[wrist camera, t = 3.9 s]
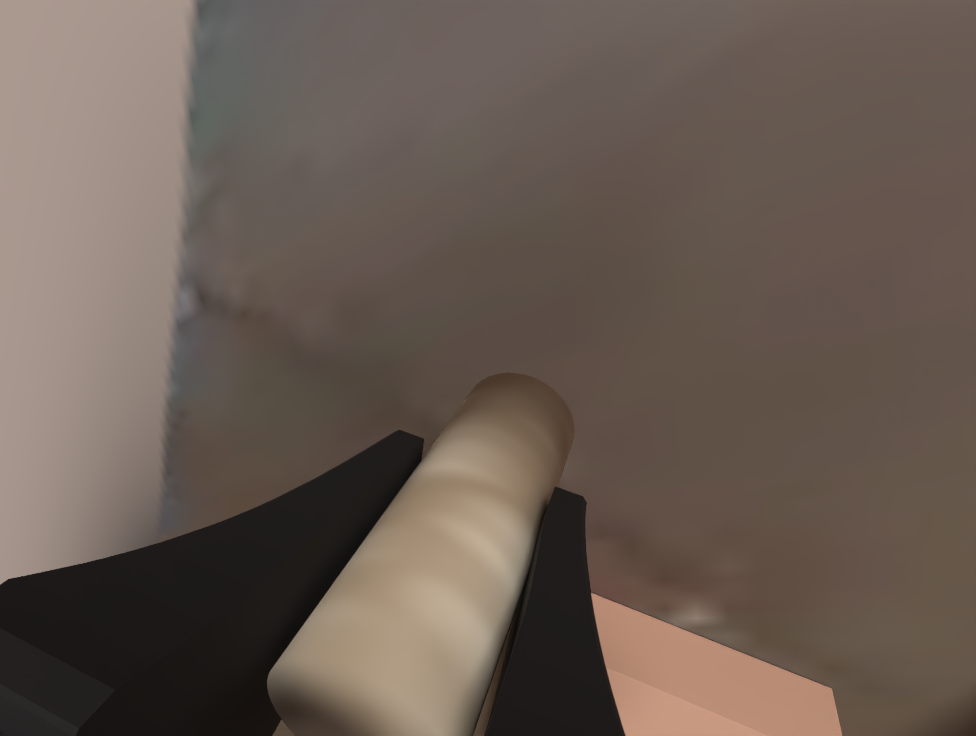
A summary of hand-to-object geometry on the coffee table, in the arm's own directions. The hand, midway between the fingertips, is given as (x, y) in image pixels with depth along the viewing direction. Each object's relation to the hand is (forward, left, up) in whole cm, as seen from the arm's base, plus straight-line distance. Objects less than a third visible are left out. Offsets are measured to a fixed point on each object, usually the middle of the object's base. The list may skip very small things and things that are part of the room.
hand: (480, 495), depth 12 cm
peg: (0, 0, -3) cm, 3 cm away
